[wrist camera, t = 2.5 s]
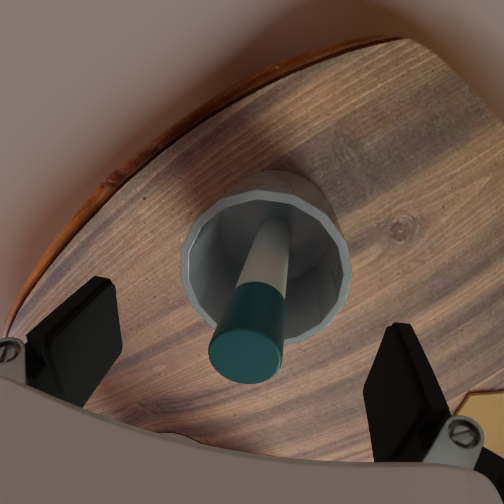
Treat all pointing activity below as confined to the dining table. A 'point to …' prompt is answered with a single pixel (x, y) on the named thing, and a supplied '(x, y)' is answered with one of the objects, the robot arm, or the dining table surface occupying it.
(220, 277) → the pen pot
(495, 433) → the cork mat
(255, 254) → the marker
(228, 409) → the dining table surface
